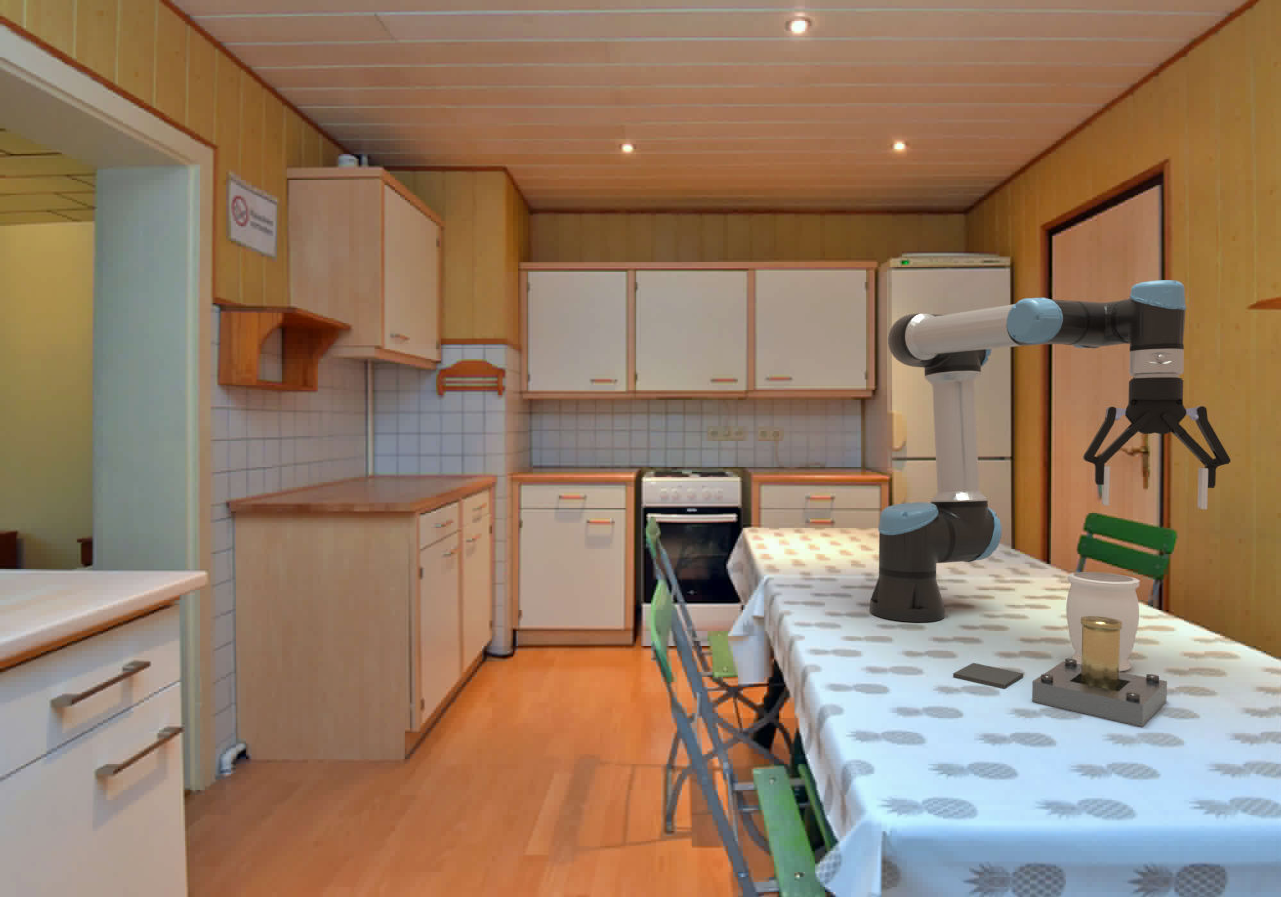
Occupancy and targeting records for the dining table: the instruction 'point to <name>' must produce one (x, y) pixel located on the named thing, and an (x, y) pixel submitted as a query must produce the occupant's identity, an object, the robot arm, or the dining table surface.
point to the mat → (988, 675)
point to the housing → (1101, 694)
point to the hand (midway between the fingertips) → (1152, 506)
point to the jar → (1103, 608)
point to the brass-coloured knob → (1100, 652)
